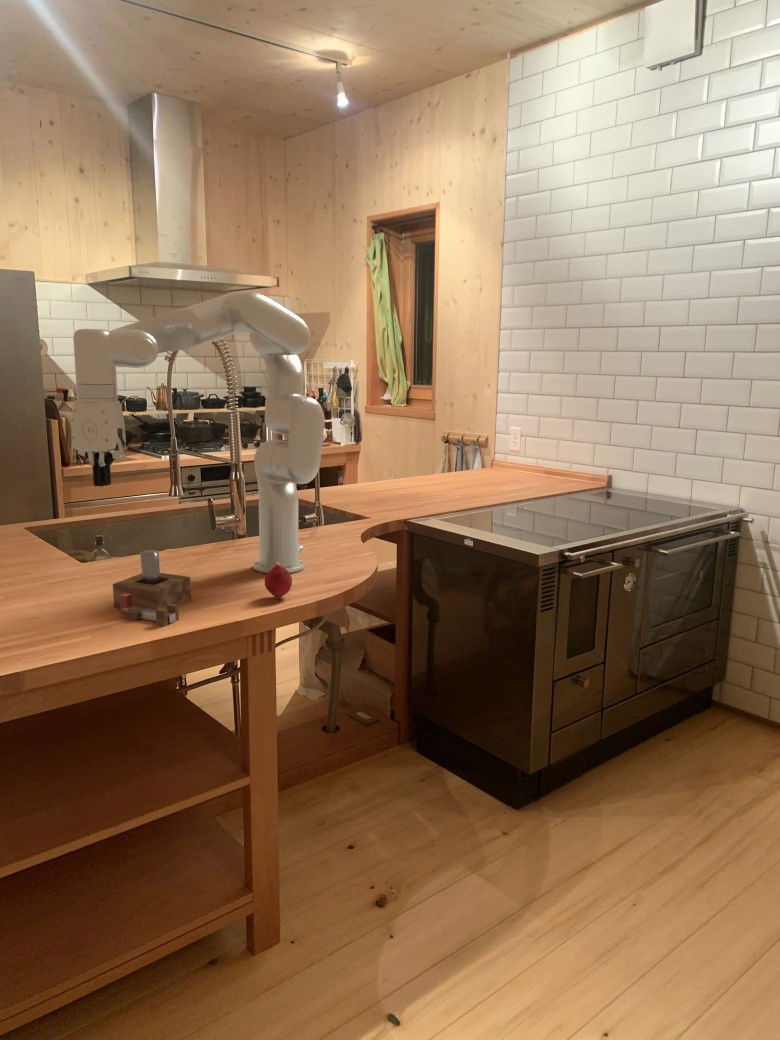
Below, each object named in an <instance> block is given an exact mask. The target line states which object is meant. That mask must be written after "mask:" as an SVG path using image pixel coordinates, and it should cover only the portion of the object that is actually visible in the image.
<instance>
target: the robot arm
mask: <svg viewBox="0 0 780 1040" xmlns="http://www.w3.org/2000/svg"><path fill="white" fill-rule="evenodd" d="M239 333H240V334H241V333H248V335H249V341H250V344H251V346H252V347H253V348H254V350H255V351H256V352H257V353H258V354H259V356H260V357H261V358H262V360H263V362H264V364H265V366H266V370H267V390H266V398H265V399H266V400H265V409H264V424H265V426H266V428H267V429H268V430H269V431H270V432H272V433H274V434H278V435H283V436H288V439H287V440H282V439H270V440H266V441H265V442H263V443H261V444H260V445H259V446H258V447H257V449H256V451H255V453H254V457H253V458H254V459H253V460H254V461H253V464H254V471H255V475H256V479H257V488H258V491H257V492H258V517H259V518H258V523H259V524H258V525H259V526H258V527H259V529H258V530H259V531H258V534H259V535H258V536H259V543H258V544H259V559H257V560H256V561H254V562H253V569H254V570H255V571H256V572H259V573H262V574H263V573H264V574H267V573H268V572H269V571H270V570H271V569H272V568H273V567H275V563H276V562H278V563H279V564H280V565H281V566H282V567H284V568H285V569H286V570H287V571H288V572H289V573H290V574H291V573H297V572H300V571H302V570H303V569H304V568H305V564H306V563H305V561H304V560H303V559H301V558H299V556H300V554H301V553H304V551H305V548H304V547H305V546H303V545H302V544H299V495H298V493H299V492H298V490H297V485H303V484H309V483H310V482H311V481H313V480H314V479H315V477H316V476H317V474H318V472H319V471H320V470H319V469H320V465H321V460H322V459H321V458H322V453H323V451H322V450H323V443H324V435H325V433H324V432H325V423H326V422H325V421H326V420H325V414H324V410H323V408H322V406H321V404H320V403H319V401H317V400H316V399H314V398H313V397H312V396H311V397H310V396H307V395H304V387H305V386H304V384H305V382H304V381H305V373H304V372H305V371H304V367H303V364H302V362H301V359H300V357H299V356H298V355H300V354H303V353H304V352H305V351H306V350H307V349H308V347H309V345H310V342H311V331H310V329H309V326H308V325H307V324H306V322H305V321H304V320H303V319H302V318H301V317H299V316H298V315H296V314H295V313H293V312H292V311H290V310H289V309H286V308H285V307H284V306H282V305H281V304H279V303H277V302H276V301H274V300H272V298H269V297H267V296H265V295H264V294H262V293H259V292H255V291H243V292H232V293H228V294H223V295H220V296H217V297H213V298H211V299H207V300H204V301H202V302H199V303H196V304H193V305H192V304H191V305H189V306H186V307H182V308H180V309H175V310H174V311H173V310H172V311H169V312H167V313H164V314H160V315H158V316H153V317H150V318H147V319H143V320H140V321H136V322H133V323H130V324H126V325H123V326H120V327H117V328H115V329H112V330H108V329H102V328H101V329H100V328H80V329H77V330H76V331H74V333H73V336H72V337H73V338H72V339H73V355H74V369H75V382H76V384H75V385H76V386H75V387H74V388H73V392H74V393H75V394H76V400H73V403H72V410H71V423H70V424H71V427H70V428H71V429H70V431H71V434H70V435H71V446H72V448H74V449H75V450H77V451H76V453H77V454H78V455H79V456H82V457H84V458H86V460H88V462H89V463H88V464H89V466H91V467H92V478H93V479H92V480H93V486H94V487H105V486H106V487H107V486H110V485H112V478H111V473H112V472H111V466H113V464H114V461H115V460H116V459H119V458H124V457H125V452H124V449H126V442H127V441H126V440H127V439H126V426H125V419H124V415H123V414H124V413H123V409H122V405H121V401H120V400H118V399H119V397H118V385H117V383H118V381H117V380H118V379H117V368H131V369H133V368H134V369H137V368H138V369H140V368H147V367H148V366H150V365H151V364H153V363H155V361H156V360H157V357H158V356H159V354H163V353H168V352H176V351H177V352H178V351H186V350H187V351H188V350H193V349H197V348H201V347H203V346H205V345H206V346H207V345H208V344H211V343H212V342H216V341H219V340H221V339H225V338H228V337H230V336H233V335H235V334H239ZM296 484H297V485H296Z"/></svg>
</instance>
